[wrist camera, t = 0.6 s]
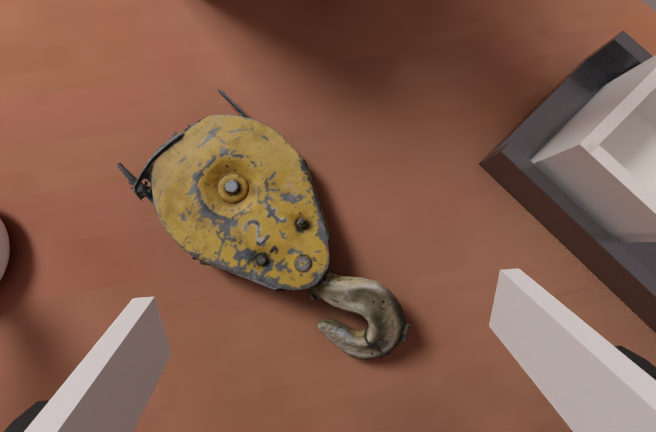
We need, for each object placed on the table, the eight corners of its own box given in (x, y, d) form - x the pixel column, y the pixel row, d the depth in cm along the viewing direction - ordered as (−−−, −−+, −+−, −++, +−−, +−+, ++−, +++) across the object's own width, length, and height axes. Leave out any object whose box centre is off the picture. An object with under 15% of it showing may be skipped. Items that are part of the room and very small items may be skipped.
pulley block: (338, 438, 23) (85, 158, 26) (330, 407, 29) (124, 180, 31) (456, 300, 26) (219, 61, 29) (428, 297, 32) (232, 98, 34)
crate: (685, 155, 30) (793, 127, 23) (601, 242, 29) (686, 241, 22) (605, 84, 31) (686, 37, 24) (522, 167, 30) (579, 144, 23)
